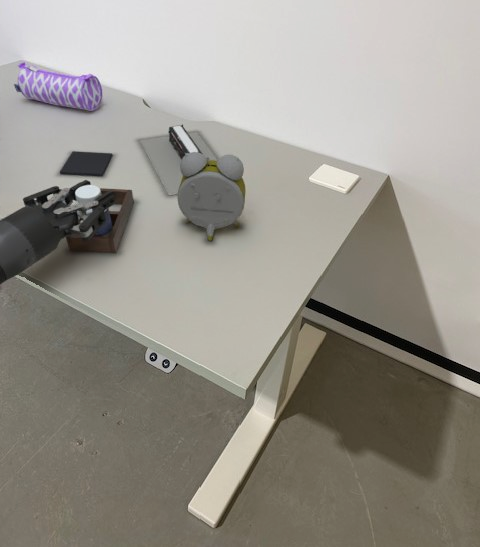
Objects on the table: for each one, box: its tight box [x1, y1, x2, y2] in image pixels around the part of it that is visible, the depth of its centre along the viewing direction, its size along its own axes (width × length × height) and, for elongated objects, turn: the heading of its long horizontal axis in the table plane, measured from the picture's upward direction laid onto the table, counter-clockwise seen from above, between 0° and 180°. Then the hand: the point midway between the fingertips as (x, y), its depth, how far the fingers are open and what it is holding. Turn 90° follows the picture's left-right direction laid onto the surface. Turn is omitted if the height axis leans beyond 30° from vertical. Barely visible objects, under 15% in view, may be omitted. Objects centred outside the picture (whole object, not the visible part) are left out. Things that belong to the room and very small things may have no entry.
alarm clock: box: [177, 152, 247, 241], centre depth 73 cm, size 12×7×15 cm, turn 86°
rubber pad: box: [59, 150, 113, 177], centre depth 92 cm, size 9×9×1 cm
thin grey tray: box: [139, 123, 218, 196], centre depth 94 cm, size 14×25×4 cm, turn 23°
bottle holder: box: [65, 187, 135, 254], centre depth 77 cm, size 8×15×3 cm, turn 179°
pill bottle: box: [74, 184, 113, 237], centre depth 72 cm, size 5×5×10 cm
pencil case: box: [13, 61, 103, 112], centre depth 111 cm, size 22×9×10 cm, turn 72°
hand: (100, 190), depth 71 cm, fingers closed on pill bottle, 5 cm apart
